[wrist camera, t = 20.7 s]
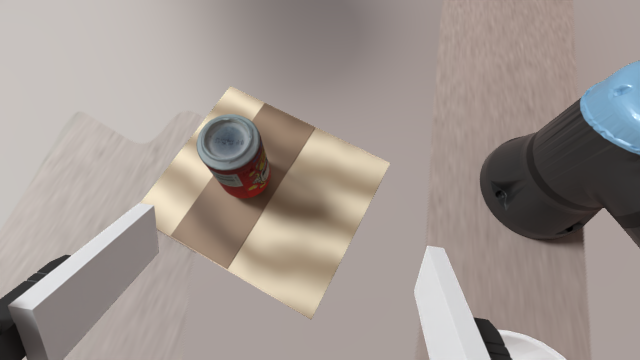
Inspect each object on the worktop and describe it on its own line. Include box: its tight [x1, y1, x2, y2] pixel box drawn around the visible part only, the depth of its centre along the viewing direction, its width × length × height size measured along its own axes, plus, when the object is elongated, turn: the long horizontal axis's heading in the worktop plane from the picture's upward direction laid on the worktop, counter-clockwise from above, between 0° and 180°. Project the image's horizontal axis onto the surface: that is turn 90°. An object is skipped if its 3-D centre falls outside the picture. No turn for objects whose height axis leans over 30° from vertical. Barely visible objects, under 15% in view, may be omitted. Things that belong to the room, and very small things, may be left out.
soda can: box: [196, 114, 271, 198], centre depth 41 cm, size 7×7×12 cm
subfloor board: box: [141, 86, 390, 319], centre depth 48 cm, size 24×28×2 cm
